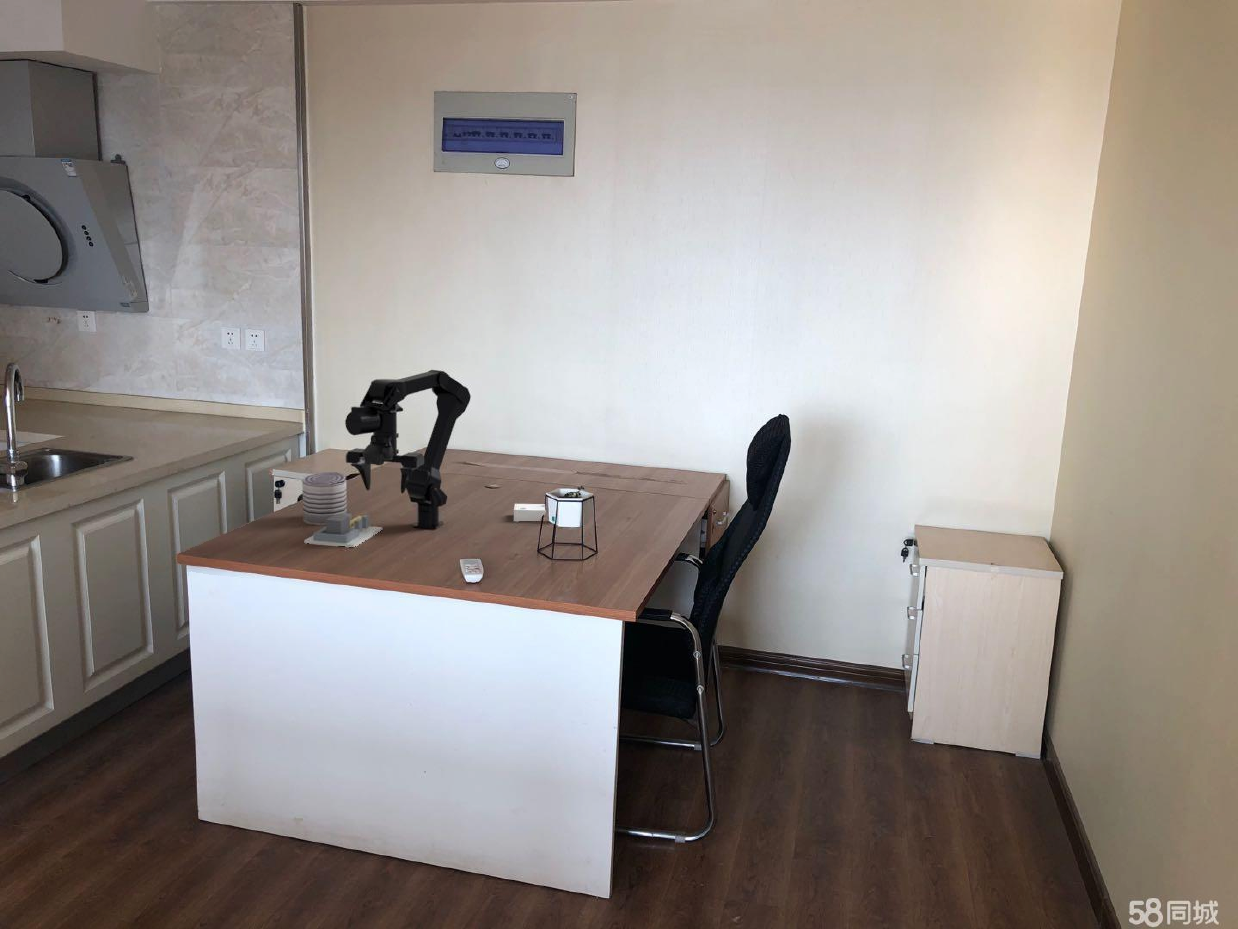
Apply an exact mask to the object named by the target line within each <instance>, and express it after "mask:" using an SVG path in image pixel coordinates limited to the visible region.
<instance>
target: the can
mask: <svg viewBox="0 0 1238 929" xmlns="http://www.w3.org/2000/svg"><path fill="white" fill-rule="evenodd" d="M347 476H348V475H346V474H344V473H340V472H337V471H333V472H332V471H330V472H329V471H325V472H316V473H312V474H308V475H307V474H306V475H305V476H304V475H303V478H302V480H301V482H302V484H301V486H302V517H303V518H302V520H303V522H305V523H306V524H308V525H313V524H314V525H316V526H326V519H328V518H330V517H332V516H334V515H342V516H344V515H346V514H348V511H347V509H348V508H347V507H348V506H347V505H348V504H347V503H348V502H347ZM314 525H313V526H314Z"/></svg>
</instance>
